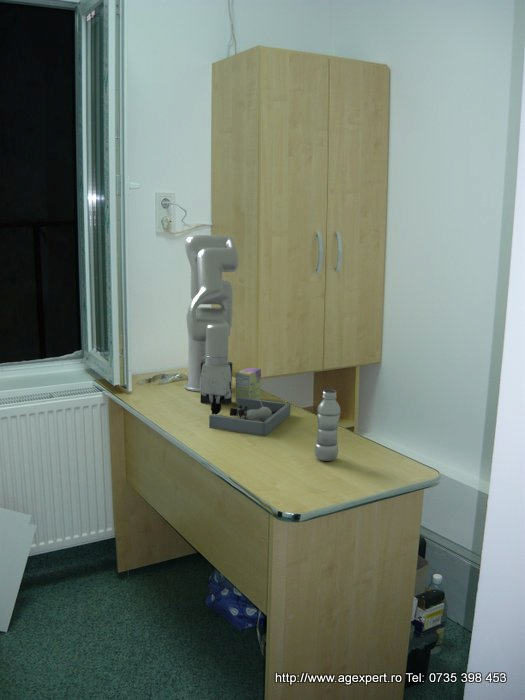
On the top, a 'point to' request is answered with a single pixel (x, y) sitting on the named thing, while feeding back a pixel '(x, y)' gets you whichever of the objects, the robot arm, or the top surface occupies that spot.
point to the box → (248, 384)
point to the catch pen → (250, 425)
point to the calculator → (225, 401)
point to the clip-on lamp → (252, 413)
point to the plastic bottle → (327, 427)
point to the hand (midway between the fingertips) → (215, 413)
